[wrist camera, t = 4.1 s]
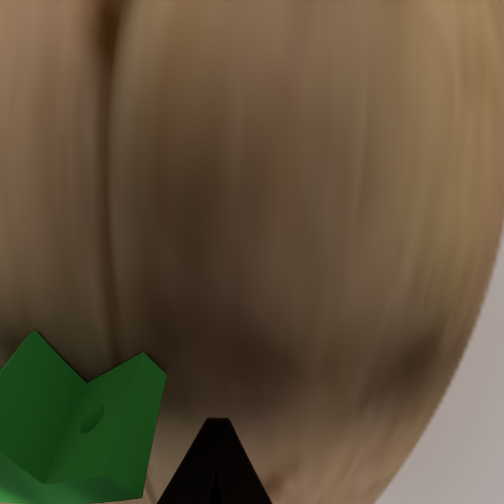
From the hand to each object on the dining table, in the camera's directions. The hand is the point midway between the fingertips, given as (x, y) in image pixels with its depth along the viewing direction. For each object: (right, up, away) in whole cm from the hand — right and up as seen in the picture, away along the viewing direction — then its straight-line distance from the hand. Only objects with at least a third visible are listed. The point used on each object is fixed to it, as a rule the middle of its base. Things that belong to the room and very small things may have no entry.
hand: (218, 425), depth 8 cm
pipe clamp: (-7, 0, +2) cm, 7 cm away
